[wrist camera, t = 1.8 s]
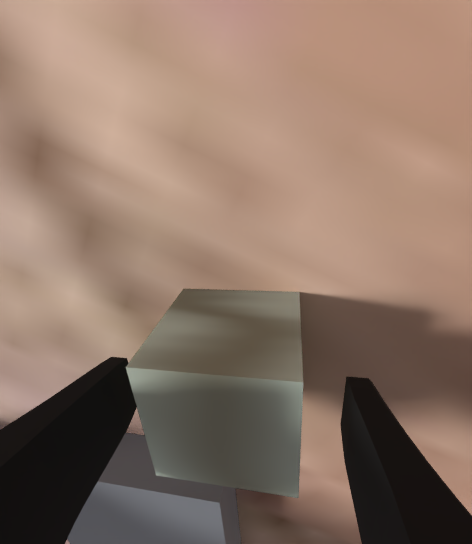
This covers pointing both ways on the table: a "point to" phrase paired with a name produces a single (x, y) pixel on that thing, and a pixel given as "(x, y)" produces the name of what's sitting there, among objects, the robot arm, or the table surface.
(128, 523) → the grey base block
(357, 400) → the robot arm
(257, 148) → the table surface
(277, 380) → the green cube
